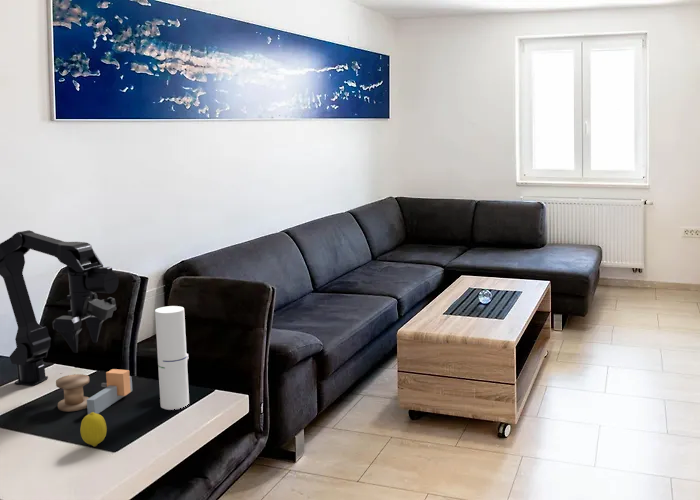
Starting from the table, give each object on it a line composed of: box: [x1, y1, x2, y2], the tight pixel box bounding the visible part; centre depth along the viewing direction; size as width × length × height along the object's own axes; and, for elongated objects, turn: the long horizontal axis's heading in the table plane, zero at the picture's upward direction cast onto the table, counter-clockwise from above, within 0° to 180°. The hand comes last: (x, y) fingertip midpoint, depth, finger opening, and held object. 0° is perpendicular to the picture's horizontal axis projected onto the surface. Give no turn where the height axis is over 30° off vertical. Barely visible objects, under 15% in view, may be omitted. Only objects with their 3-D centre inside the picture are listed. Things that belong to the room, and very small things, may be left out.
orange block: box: [100, 368, 132, 397], centre depth 197 cm, size 7×3×6 cm, turn 75°
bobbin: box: [55, 373, 90, 412], centre depth 191 cm, size 8×8×7 cm
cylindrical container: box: [154, 305, 190, 411], centre depth 189 cm, size 7×7×25 cm
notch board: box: [86, 375, 133, 415], centre depth 193 cm, size 2×18×4 cm, turn 166°
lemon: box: [79, 412, 108, 447], centre depth 166 cm, size 6×6×8 cm
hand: (85, 347), depth 201 cm, fingers open, 9 cm apart
